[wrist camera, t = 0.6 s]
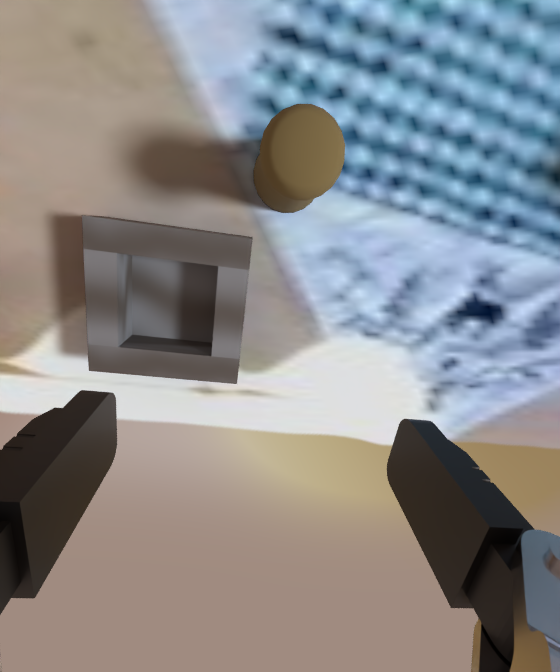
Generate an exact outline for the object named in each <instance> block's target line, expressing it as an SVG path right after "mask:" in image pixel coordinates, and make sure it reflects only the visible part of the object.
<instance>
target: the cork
mask: <svg viewBox="0 0 560 672" xmlns="http://www.w3.org/2000/svg"><path fill="white" fill-rule="evenodd" d="M344 155H345V143H344V139H343V135H342V131H341V129H340V127H339V126H338V124H337V122H336V121H335V119H334V118H333V117H332V116H331V115H330V114H329V113H328V112H326V111H325V110H324V109H322V108H320V107H317V106H315V105H312V104H296V105H293V106H291V107H288V108H285V109H283V110H282V111H281V112H279V113H278V114H277V115H276V116H275V117H273V118H272V119H271V121H270V123H269V124H268V126H267V127H266V129H265V131H264V133H263V137H262V141H261V145H260V154H259V156H258V157H257V159H256V163H255V167H254V170H253V172H254V184H255V187H256V190H257V193H258V195H259V196H260V198H261V199H262V201H263V202H264V203H265V204H266V205H268V206H269V207H270V208H271V209H273V210H276V211H279V212H282V213H294V212H296V211H299V210H302V209H304V208H305V207H306V206H308V205H309V204H310V203H311V202H312V201H313V199H314V198H316V197H319V196H321V195H322V194H324V193H325V192H326V191H327V190H329V189H330V188H331V187H332V186H333V184H334V183H335V182H336V180H337V179H338V177H339V176H340V173H341V170H342V167H343V164H344Z"/></svg>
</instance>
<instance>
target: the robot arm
mask: <svg viewBox="0 0 560 672" xmlns="http://www.w3.org/2000/svg"><path fill="white" fill-rule="evenodd" d="M116 447H117V426H116V398H115V395H114V394H113V393H109V392H97V391H85V390H82V391H80V392H79V393H77V394H76V395H75V396H74V397H73V398H72V399H71V400H70V401H69V402H68V403H67V404H66V405H65V406H64V408H54V409H52V410H50V411H48V412H46V413H44V414H42V415H40V416H38V417H36V418H34V419H33V420H31V421H30V422H29V423H28V424H27V425H26V426H25V427H24V428H23V429H22V430H21V431H19V432H18V433H17V436H16V437H13V438H12V439H11V440H10V441H9V442H8V443H6V444H5V445H4V447H3V449H2V450H0V614H1V613H2V611H3V610H4V608H5V606H6V605H7V603H8V602H9V600H10V599H11V598H35V597H36V595H37V593H38V592H39V590H40V588H41V586H42V584H43V583H44V581H45V579H46V578H47V576H48V574H49V573H50V571H51V569H52V567H53V566H54V564H55V562H56V560H57V559H58V557H59V555H60V553H61V552H62V550H63V548H64V547H65V545H66V543H67V541H68V540H69V538H70V536H71V534H72V533H73V531H74V529H75V527H76V526H77V524H78V522H79V521H80V518H81V517H82V515H83V514H84V512H85V510H86V508H87V507H88V505H89V503H90V501H91V500H92V498H93V496H94V495H95V492H96V491H97V489H98V488H99V486H100V484H101V482H102V481H103V479H104V477H105V475H106V474H107V472H108V470H109V469H110V466H111V465H112V462H113V460H114V457H115V453H116ZM387 476H388V481H389V484H390V486H391V488H392V490H393V492H394V494H395V496H396V498H397V500H398V502H399V504H400V506H401V508H402V510H403V512H404V514H405V516H406V518H407V520H408V522H409V524H410V526H411V528H412V530H413V532H414V534H415V536H416V538H417V540H418V542H419V544H420V546H421V548H422V550H423V552H424V554H425V556H426V558H427V560H428V562H429V564H430V566H431V568H432V570H433V572H434V574H435V576H436V578H437V580H438V582H439V584H440V586H441V589H442V590H443V592H444V595H445V597H446V598H447V600H448V603H449V605H450V606H451V608H474V610H475V612H476V614H477V615H478V617H479V618H478V621H477V622H476V624H475V627H474V634H473V648H472V649H473V650H472V663H471V672H560V537H559V536H557V535H554V534H552V533H549V532H546V531H541V530H535V529H534V528H533V527H532V526H531V525H530V524H529V523H528V522H527V520H526V519H525V518H524V517H523V516H522V515H521V514H520V512H519V511H518V510H517V509H516V508H515V507H514V506H513V505H512V503H511V502H510V501H509V500H508V499H507V498H506V497H505V496H504V494H503V493H502V492H501V491H500V490H499V489H498V488H497V487H496V485H495V484H494V483H491V482H490V479H489V478H488V476H487V475H486V474H485V473H484V472H483V471H482V470H479V466H478V465H477V464H476V463H475V462H474V461H473V460H472V458H471V457H470V456H469V455H468V454H467V453H466V452H465V451H463V450H462V449H461V448H459V447H458V446H457V445H455V444H454V443H452V442H451V441H450V440H448V439H447V438H446V437H445V436H444V435H443V434H442V432H441V431H440V430H439V429H438V428H437V427H436V425H435V424H434V423H433V422H431V421H425V420H413V419H403V420H402V421H401V422H400V424H399V427H398V430H397V433H396V436H395V440H394V443H393V446H392V449H391V453H390V456H389V459H388V463H387ZM0 655H1V654H0ZM0 672H2V667H1V656H0Z"/></svg>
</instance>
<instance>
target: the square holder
mask: <svg viewBox="0 0 560 672" xmlns="http://www.w3.org/2000/svg"><path fill="white" fill-rule="evenodd" d="M82 229H83V251H84V273H85V296H86V318H87V340H88V362H89V371H97V372H109V373H120V374H131V375H142V376H153V377H165V378H176V379H187V380H198V381H209V382H220V383H232V384H237V377H238V369H239V359H240V350H241V340H242V331H243V322H244V312H245V303H246V293H247V284H248V275H249V265H250V256H251V246H252V237H247V236H240V235H233V234H225V233H218V232H211V231H204V230H197V229H189V228H182V227H175V226H168V225H161V224H154V223H146V222H139V221H132V220H125V219H118V218H111V217H102V216H86V215H82Z"/></svg>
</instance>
